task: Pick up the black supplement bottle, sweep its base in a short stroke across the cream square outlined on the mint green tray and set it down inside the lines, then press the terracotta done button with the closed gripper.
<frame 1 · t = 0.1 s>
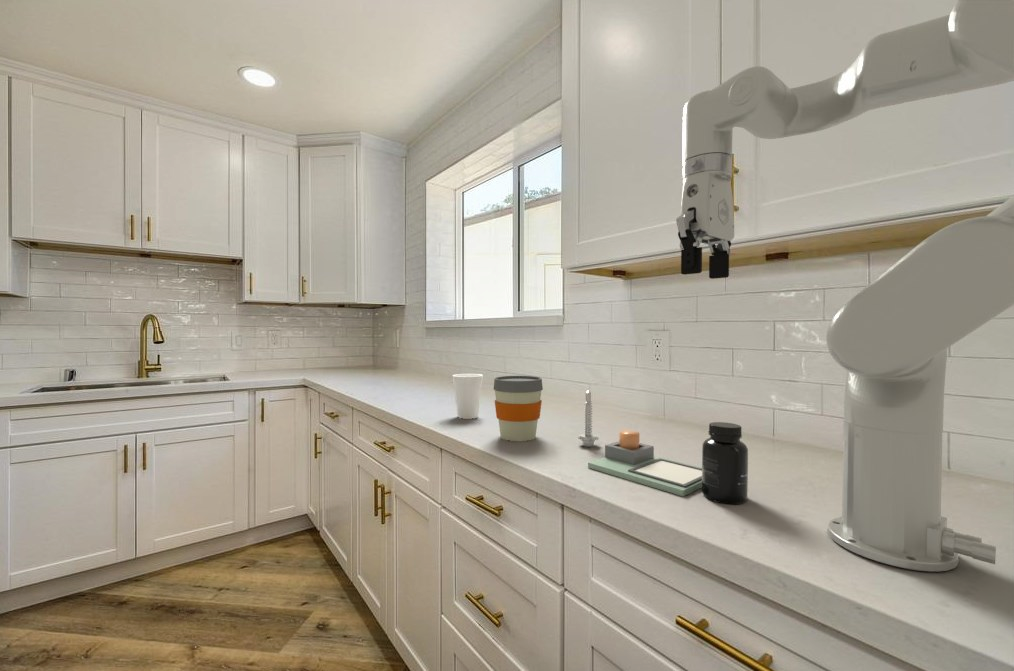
hand: (705, 275, 74), 37 cm above the countertop, tool pointing down, fingers open, 9 cm apart
foam cup: (467, 417, 139), on the countertop
supplement bottle: (724, 498, 74), on the countertop
mint green tray: (652, 472, 86), on the countertop
reusable coffee cup: (518, 437, 114), on the countertop
done button: (629, 442, 92), point 4 cm above the countertop, slide at 0.0 cm
screw: (588, 446, 105), on the countertop
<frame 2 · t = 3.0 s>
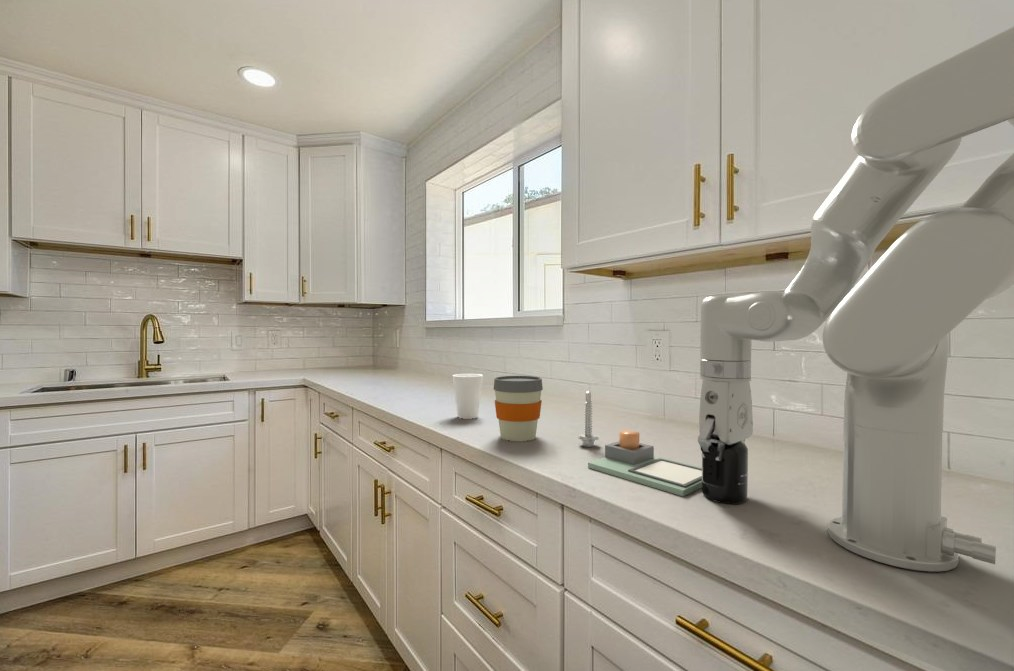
hand: (724, 477, 74), 3 cm above the countertop, tool pointing down, fingers closed on supplement bottle, 6 cm apart
supplement bottle: (724, 498, 74), on the countertop, touching gripper
everything else where it was.
when the fingers open (5 cm above the countertop, at t = 7.7 s): supplement bottle stays where it is, resting on mint green tray.
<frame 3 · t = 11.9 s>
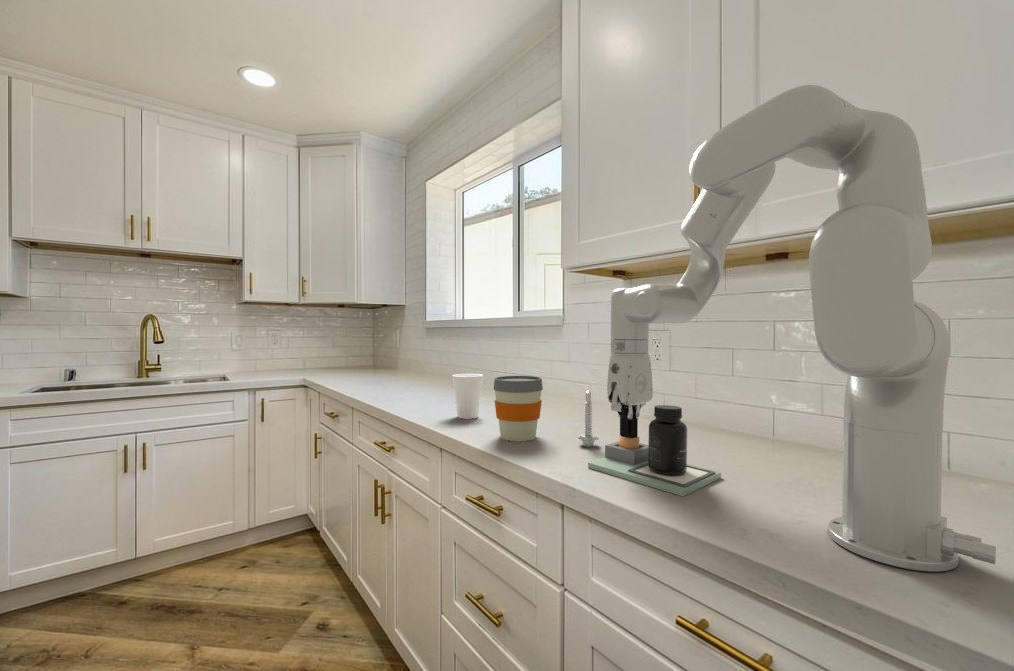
hand: (628, 436, 92), 5 cm above the countertop, tool pointing down, fingers closed
supplement bottle: (667, 471, 83), point 1 cm above the countertop, touching mint green tray
done button: (629, 446, 92), point 3 cm above the countertop, slide at 0.8 cm, touching gripper
everything else where it was.
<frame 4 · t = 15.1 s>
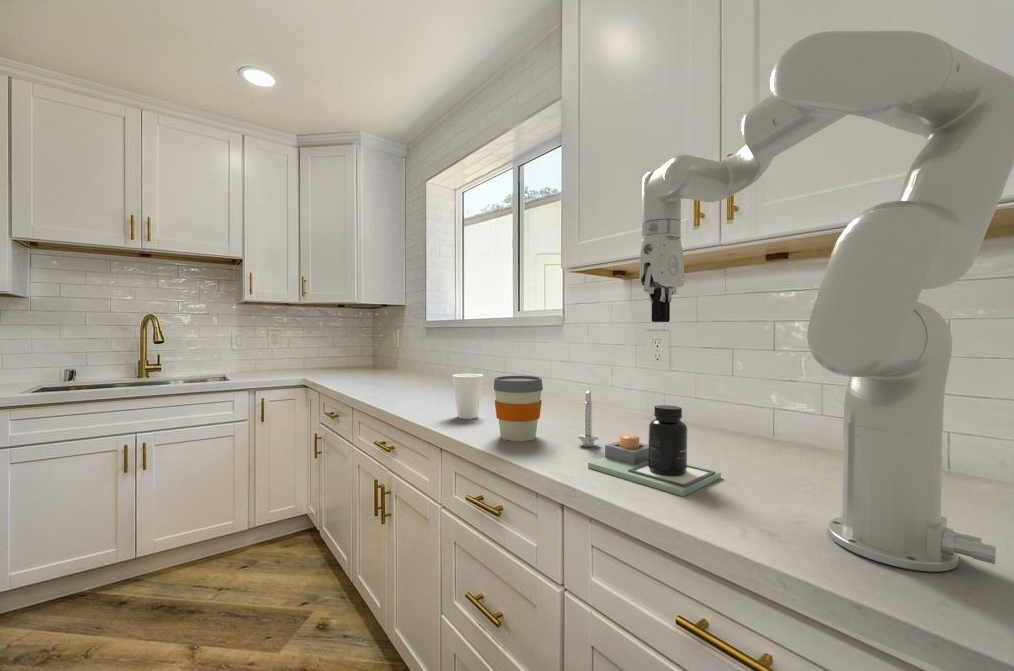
hand: (660, 321, 92), 29 cm above the countertop, tool pointing down, fingers closed
done button: (629, 446, 92), point 3 cm above the countertop, slide at 0.9 cm
everything else where it was.
at the end: supplement bottle inside the target area (0.5 cm from its centre), point 0.9 cm above the countertop; supplement bottle tilted 0°; done button slide at 0.9 cm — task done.
